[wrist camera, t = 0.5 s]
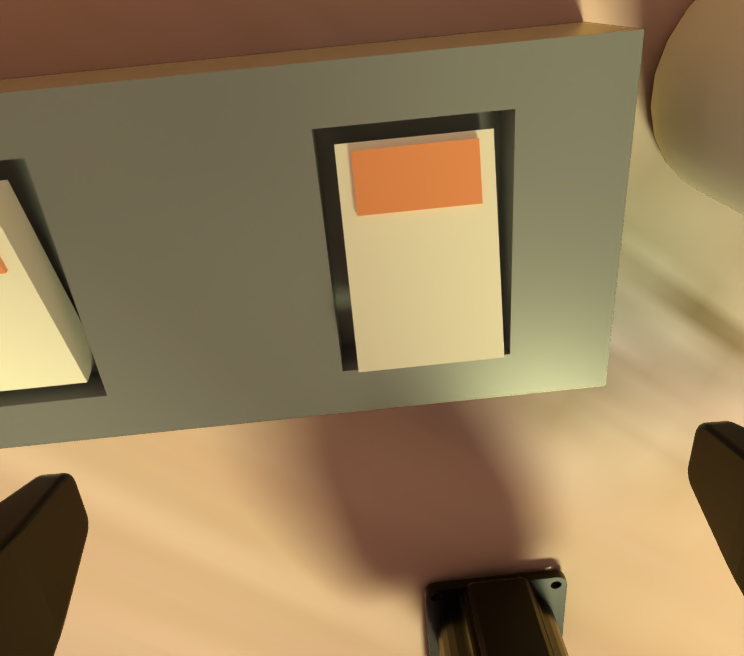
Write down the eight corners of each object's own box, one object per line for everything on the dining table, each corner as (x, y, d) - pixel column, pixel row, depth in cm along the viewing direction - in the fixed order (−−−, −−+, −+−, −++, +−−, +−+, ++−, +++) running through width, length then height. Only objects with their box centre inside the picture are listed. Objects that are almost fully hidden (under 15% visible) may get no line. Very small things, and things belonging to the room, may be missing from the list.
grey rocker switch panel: (563, 325, 23) (605, 385, 19) (-67, 390, 23) (-140, 463, 19) (583, 21, 18) (644, 29, 15) (-213, 100, 18) (-346, 127, 14)
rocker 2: (494, 345, 18) (505, 358, 17) (358, 359, 18) (358, 374, 17) (483, 131, 17) (494, 128, 16) (334, 146, 17) (333, 144, 15)
